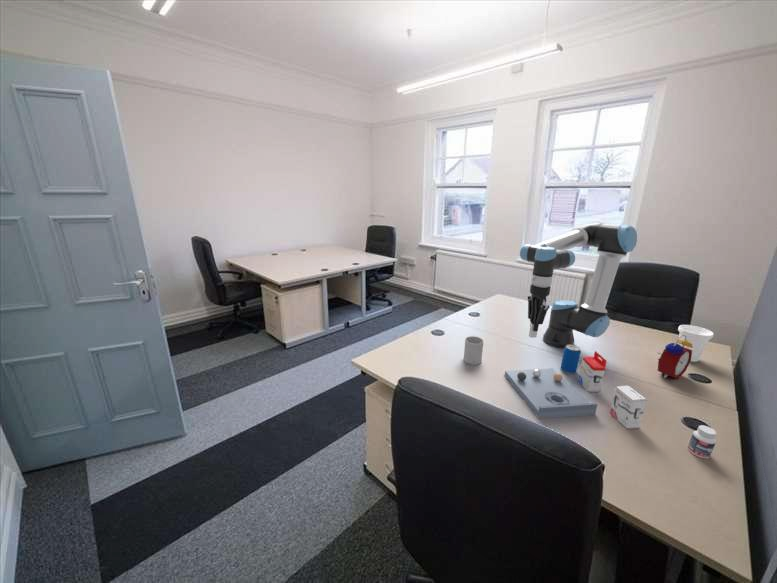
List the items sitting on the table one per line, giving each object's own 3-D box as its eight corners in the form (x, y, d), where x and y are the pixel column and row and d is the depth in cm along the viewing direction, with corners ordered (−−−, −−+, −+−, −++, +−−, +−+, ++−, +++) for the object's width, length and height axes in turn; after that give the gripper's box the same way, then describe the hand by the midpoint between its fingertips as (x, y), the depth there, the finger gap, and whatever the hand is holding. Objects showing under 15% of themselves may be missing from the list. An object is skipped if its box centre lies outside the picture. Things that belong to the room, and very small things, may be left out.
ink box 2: (577, 380, 140) (583, 350, 136) (588, 380, 140) (595, 350, 135) (588, 392, 132) (595, 360, 127) (600, 392, 132) (608, 360, 127)
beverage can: (574, 368, 149) (579, 345, 145) (577, 375, 143) (582, 351, 140) (559, 366, 151) (563, 343, 147) (561, 373, 145) (566, 349, 142)
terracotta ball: (558, 378, 137) (560, 370, 136) (563, 382, 134) (565, 375, 133) (551, 378, 137) (552, 371, 136) (555, 383, 133) (557, 376, 132)
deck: (504, 375, 143) (505, 366, 142) (551, 373, 145) (552, 364, 144) (539, 418, 117) (540, 408, 115) (595, 414, 119) (597, 404, 117)
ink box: (608, 412, 120) (615, 385, 116) (620, 412, 120) (628, 384, 117) (626, 429, 112) (634, 400, 108) (640, 428, 112) (648, 399, 108)
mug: (481, 366, 151) (483, 345, 147) (463, 363, 153) (464, 342, 149) (481, 354, 162) (483, 334, 158) (464, 351, 164) (465, 332, 160)
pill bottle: (691, 456, 101) (700, 433, 98) (684, 444, 105) (692, 421, 102) (713, 461, 99) (722, 437, 96) (704, 448, 103) (713, 426, 101)
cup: (703, 357, 159) (713, 329, 154) (703, 367, 150) (714, 338, 145) (671, 349, 167) (679, 322, 162) (669, 358, 158) (678, 330, 154)
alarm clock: (670, 383, 138) (683, 341, 132) (647, 373, 145) (659, 333, 139) (686, 374, 145) (700, 334, 138) (664, 365, 152) (675, 326, 146)
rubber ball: (523, 377, 137) (524, 370, 136) (527, 382, 134) (528, 374, 133) (515, 377, 137) (516, 370, 136) (519, 382, 134) (520, 375, 133)
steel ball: (537, 374, 140) (538, 367, 139) (542, 379, 136) (543, 371, 135) (530, 375, 139) (531, 367, 138) (534, 379, 136) (535, 372, 135)
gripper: (524, 280, 138) (517, 330, 145) (540, 289, 126) (532, 343, 133) (540, 280, 139) (532, 330, 146) (558, 289, 126) (549, 343, 134)
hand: (532, 336), depth 139 cm, fingers closed
